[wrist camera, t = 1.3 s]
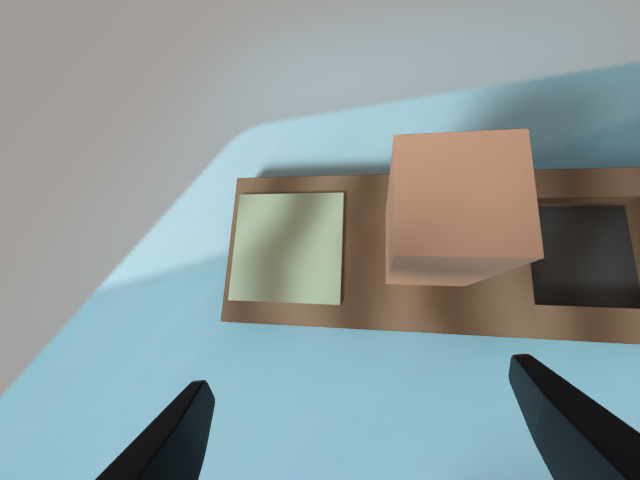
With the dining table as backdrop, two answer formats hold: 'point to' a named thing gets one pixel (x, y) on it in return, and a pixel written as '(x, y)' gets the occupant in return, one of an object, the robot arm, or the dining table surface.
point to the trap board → (426, 300)
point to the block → (460, 207)
